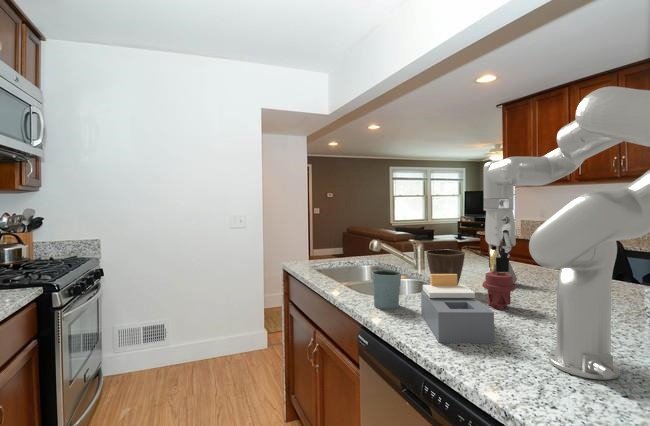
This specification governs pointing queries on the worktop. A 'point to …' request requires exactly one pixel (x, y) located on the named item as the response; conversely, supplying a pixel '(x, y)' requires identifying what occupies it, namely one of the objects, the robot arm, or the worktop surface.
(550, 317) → the worktop surface
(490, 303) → the mechanical component
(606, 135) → the robot arm
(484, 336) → the housing
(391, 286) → the blue-grey cup
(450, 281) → the lid
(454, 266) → the plant pot
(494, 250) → the peg
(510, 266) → the coffee pot
